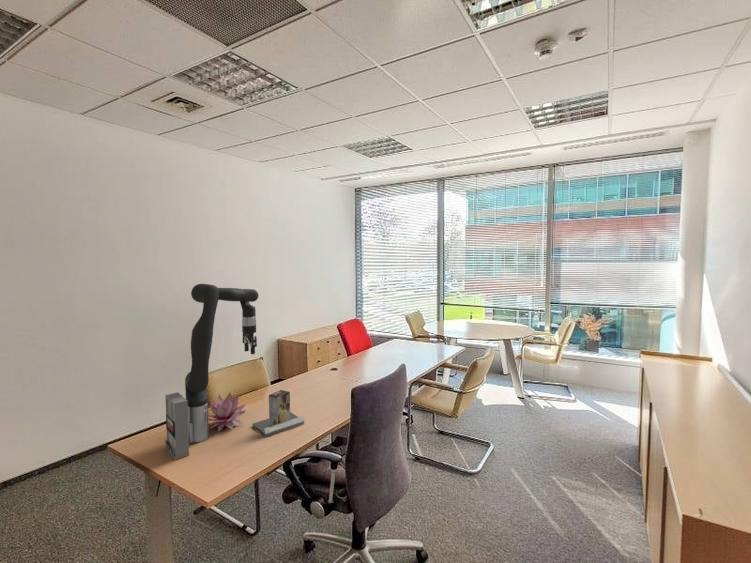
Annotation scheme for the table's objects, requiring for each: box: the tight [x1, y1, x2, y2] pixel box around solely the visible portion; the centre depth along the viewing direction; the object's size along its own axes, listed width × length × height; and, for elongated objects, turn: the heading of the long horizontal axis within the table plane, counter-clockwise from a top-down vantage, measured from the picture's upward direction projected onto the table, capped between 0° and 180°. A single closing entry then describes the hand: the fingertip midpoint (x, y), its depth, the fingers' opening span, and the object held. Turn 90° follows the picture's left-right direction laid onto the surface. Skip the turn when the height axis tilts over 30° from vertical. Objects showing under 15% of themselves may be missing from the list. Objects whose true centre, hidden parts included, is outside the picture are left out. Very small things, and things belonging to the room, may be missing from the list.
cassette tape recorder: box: [164, 392, 190, 461], centre depth 164 cm, size 14×6×25 cm, turn 44°
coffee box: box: [268, 389, 291, 426], centre depth 190 cm, size 9×6×16 cm
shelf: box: [252, 411, 305, 438], centre depth 192 cm, size 22×15×4 cm
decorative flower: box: [208, 392, 247, 432], centre depth 190 cm, size 21×21×15 cm
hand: (249, 352), depth 207 cm, fingers open, 8 cm apart
